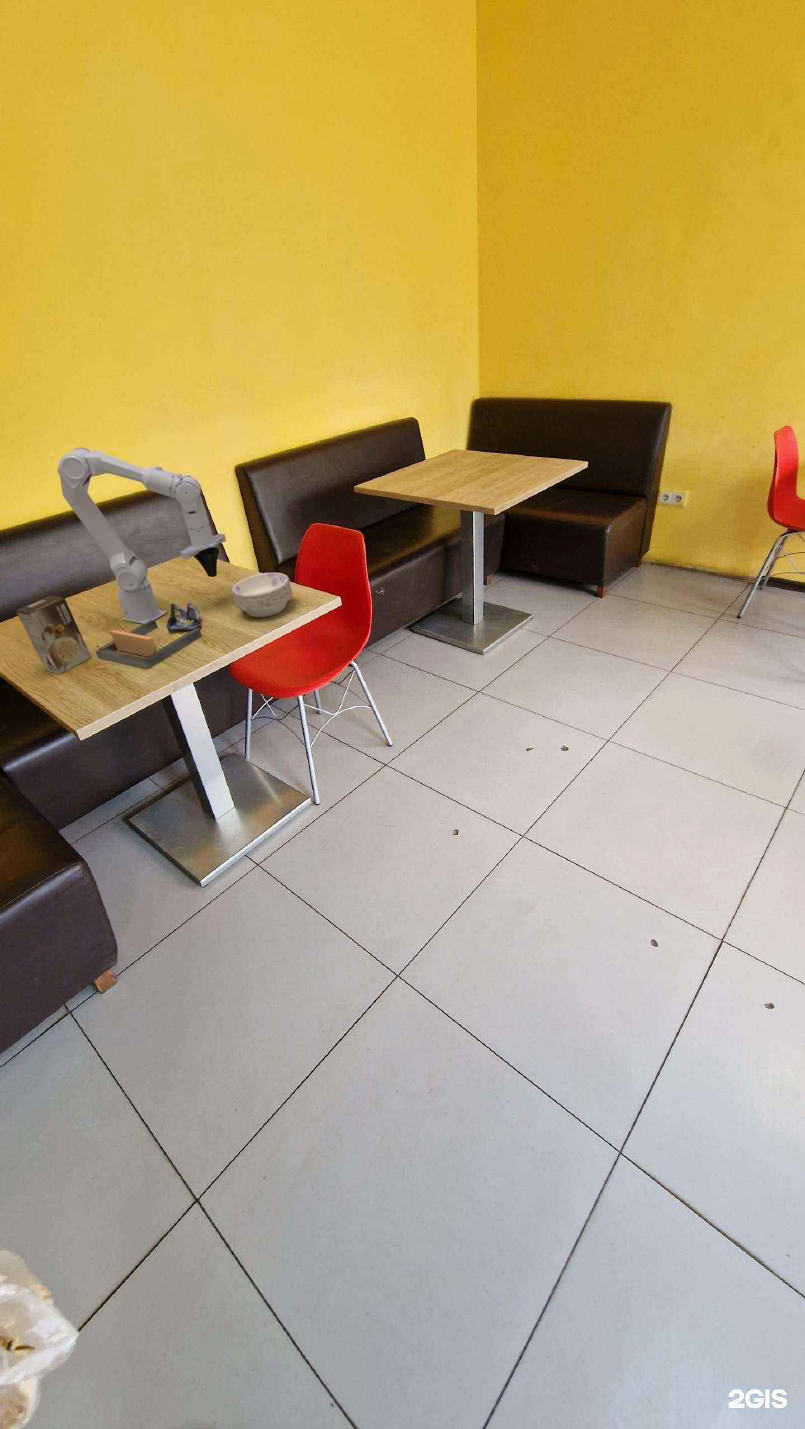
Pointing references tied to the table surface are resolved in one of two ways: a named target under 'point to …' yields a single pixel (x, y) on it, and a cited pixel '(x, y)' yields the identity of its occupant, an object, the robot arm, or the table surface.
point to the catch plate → (133, 643)
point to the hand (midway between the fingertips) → (212, 575)
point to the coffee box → (54, 634)
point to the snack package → (184, 618)
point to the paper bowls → (262, 594)
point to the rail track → (153, 659)
